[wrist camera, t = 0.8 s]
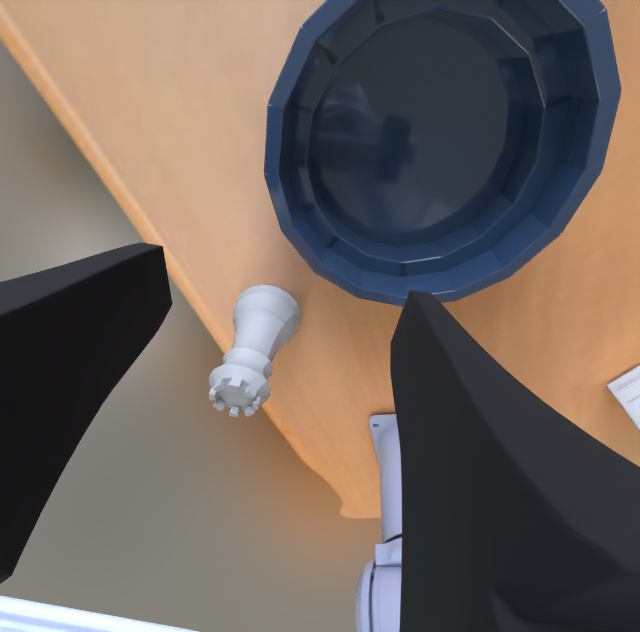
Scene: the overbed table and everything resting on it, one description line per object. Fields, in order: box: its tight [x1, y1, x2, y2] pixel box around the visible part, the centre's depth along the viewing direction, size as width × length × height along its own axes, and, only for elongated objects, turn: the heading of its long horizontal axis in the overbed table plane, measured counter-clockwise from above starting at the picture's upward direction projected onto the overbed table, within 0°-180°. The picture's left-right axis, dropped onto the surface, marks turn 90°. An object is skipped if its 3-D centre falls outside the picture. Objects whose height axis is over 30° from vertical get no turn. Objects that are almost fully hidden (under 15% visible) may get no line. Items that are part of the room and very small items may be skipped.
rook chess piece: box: [209, 284, 301, 417], centre depth 20 cm, size 4×4×8 cm
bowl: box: [264, 0, 621, 307], centre depth 14 cm, size 12×12×4 cm
